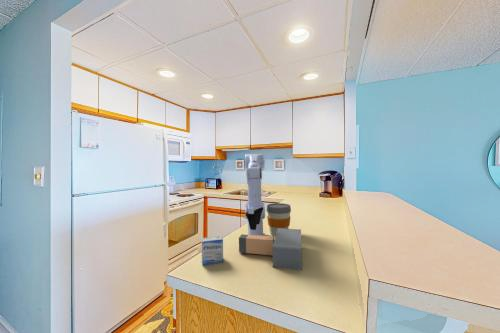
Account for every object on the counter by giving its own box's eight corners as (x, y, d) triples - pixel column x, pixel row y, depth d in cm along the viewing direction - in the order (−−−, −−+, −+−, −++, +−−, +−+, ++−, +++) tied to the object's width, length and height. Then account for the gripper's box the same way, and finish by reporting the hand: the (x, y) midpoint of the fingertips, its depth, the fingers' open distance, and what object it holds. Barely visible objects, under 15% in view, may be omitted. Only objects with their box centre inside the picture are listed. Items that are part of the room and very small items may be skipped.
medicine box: (202, 265, 73) (201, 241, 73) (201, 260, 78) (201, 237, 77) (223, 262, 75) (223, 239, 75) (222, 257, 80) (221, 235, 80)
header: (278, 245, 90) (278, 228, 90) (301, 246, 88) (300, 229, 88) (272, 267, 71) (272, 245, 71) (301, 270, 69) (301, 248, 69)
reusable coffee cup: (290, 230, 110) (289, 203, 110) (292, 239, 97) (292, 208, 97) (267, 230, 111) (266, 203, 111) (266, 238, 99) (266, 208, 99)
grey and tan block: (241, 248, 86) (241, 234, 86) (274, 251, 83) (274, 236, 83) (239, 252, 82) (238, 237, 82) (273, 255, 79) (272, 240, 79)
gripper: (249, 192, 94) (250, 221, 94) (240, 197, 79) (241, 231, 80) (264, 192, 92) (264, 222, 92) (258, 197, 78) (258, 232, 78)
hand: (255, 226), depth 86 cm, fingers open, 7 cm apart
